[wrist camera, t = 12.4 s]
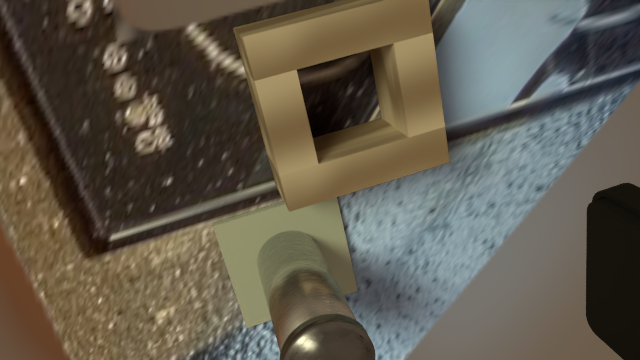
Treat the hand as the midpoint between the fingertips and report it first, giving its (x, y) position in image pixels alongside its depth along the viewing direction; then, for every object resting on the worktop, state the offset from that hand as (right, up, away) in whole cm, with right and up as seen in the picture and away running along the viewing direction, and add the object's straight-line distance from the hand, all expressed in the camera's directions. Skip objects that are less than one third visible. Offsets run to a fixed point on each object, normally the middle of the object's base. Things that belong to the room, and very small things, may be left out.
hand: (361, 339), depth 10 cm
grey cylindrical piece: (-3, -3, +32) cm, 32 cm away
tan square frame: (0, +9, +28) cm, 30 cm away
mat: (-3, -3, +32) cm, 32 cm away
